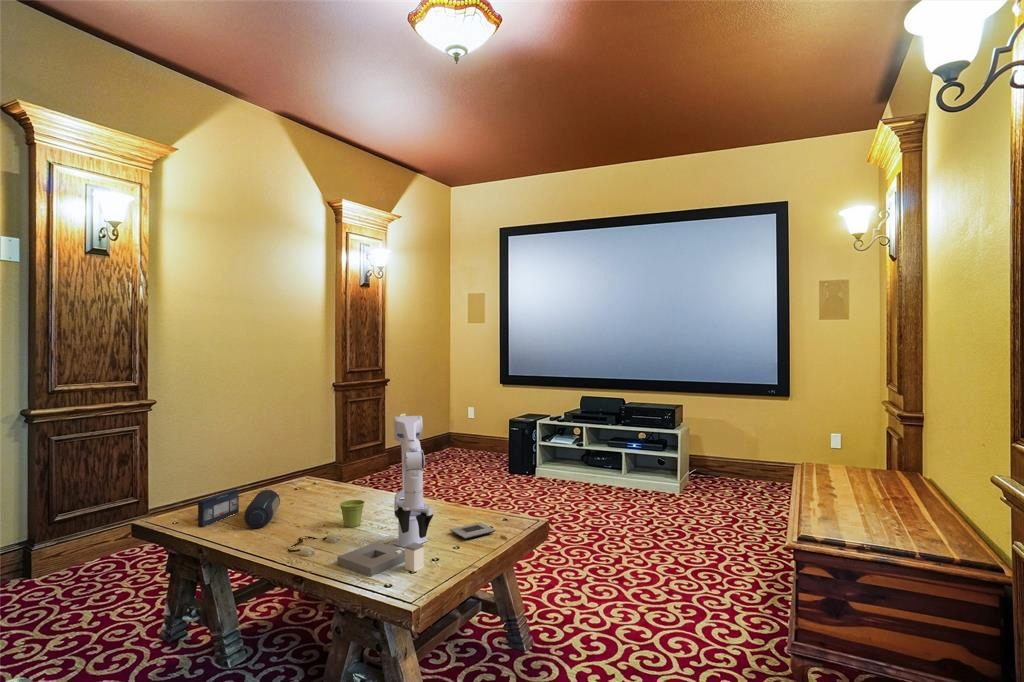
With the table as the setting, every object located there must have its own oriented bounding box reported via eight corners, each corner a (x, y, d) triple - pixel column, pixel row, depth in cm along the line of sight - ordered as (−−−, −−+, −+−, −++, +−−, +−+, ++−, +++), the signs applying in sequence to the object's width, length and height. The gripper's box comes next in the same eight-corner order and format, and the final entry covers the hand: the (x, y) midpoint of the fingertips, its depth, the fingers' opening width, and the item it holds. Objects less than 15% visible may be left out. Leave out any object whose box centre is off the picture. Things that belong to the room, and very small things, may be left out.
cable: (272, 553, 190) (272, 543, 190) (306, 537, 205) (306, 528, 205) (310, 559, 184) (310, 548, 184) (341, 542, 200) (341, 532, 200)
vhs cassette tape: (202, 527, 215) (202, 501, 215) (196, 527, 216) (196, 501, 216) (240, 513, 233) (239, 489, 232) (234, 513, 233) (234, 488, 233)
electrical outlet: (464, 543, 198) (464, 536, 198) (449, 534, 206) (449, 528, 206) (495, 535, 205) (495, 528, 205) (480, 527, 214) (480, 521, 214)
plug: (414, 564, 178) (414, 542, 178) (423, 567, 176) (423, 545, 176) (405, 568, 175) (404, 546, 175) (414, 571, 173) (414, 548, 173)
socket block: (377, 549, 192) (376, 540, 192) (410, 559, 182) (410, 550, 182) (337, 564, 179) (337, 554, 179) (371, 576, 169) (370, 566, 169)
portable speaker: (271, 529, 212) (270, 503, 212) (242, 532, 210) (242, 505, 210) (281, 510, 237) (281, 486, 237) (255, 512, 234) (255, 488, 234)
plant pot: (339, 523, 219) (339, 500, 219) (364, 520, 222) (364, 498, 222) (339, 530, 211) (339, 507, 210) (365, 528, 213) (365, 504, 213)
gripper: (387, 490, 176) (388, 533, 176) (421, 497, 168) (421, 543, 168) (404, 485, 182) (404, 527, 182) (437, 492, 174) (438, 536, 174)
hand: (413, 534), depth 175 cm, fingers open, 7 cm apart
